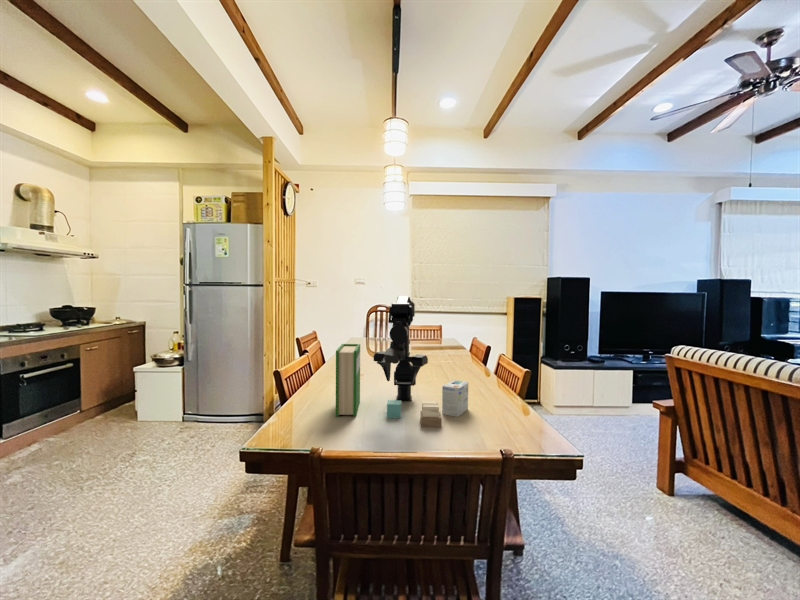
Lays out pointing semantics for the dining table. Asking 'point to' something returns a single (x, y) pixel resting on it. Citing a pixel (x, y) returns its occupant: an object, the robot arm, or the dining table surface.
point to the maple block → (430, 409)
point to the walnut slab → (431, 421)
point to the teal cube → (394, 409)
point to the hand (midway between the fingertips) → (400, 382)
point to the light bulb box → (455, 398)
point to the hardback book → (347, 379)
